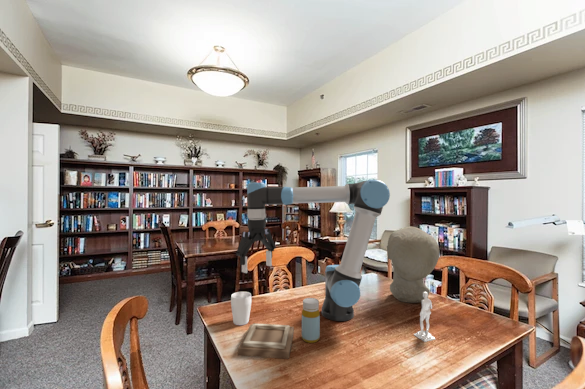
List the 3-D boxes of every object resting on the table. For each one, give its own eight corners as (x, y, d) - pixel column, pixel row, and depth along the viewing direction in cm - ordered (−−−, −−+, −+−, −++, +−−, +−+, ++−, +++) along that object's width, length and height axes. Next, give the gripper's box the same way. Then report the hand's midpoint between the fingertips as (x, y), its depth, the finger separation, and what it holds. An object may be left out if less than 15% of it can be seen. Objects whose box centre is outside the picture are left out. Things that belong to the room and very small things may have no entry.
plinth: (293, 332, 113) (293, 323, 113) (288, 358, 95) (289, 348, 95) (250, 330, 115) (250, 321, 115) (237, 355, 97) (237, 344, 97)
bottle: (300, 334, 112) (300, 297, 112) (317, 334, 112) (318, 297, 112) (302, 344, 105) (303, 304, 105) (321, 343, 106) (321, 303, 106)
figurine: (429, 331, 115) (429, 288, 116) (441, 339, 109) (441, 293, 109) (411, 333, 114) (411, 289, 114) (422, 342, 107) (422, 295, 107)
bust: (441, 299, 151) (442, 226, 151) (436, 319, 127) (437, 231, 127) (393, 290, 164) (394, 223, 164) (380, 307, 140) (381, 228, 140)
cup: (247, 327, 117) (247, 299, 117) (227, 325, 119) (227, 297, 119) (254, 318, 126) (254, 292, 126) (235, 316, 128) (235, 290, 128)
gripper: (271, 216, 130) (272, 262, 130) (226, 220, 111) (227, 273, 111) (283, 217, 125) (283, 264, 125) (238, 221, 106) (239, 277, 106)
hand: (257, 269), depth 118 cm, fingers open, 13 cm apart
